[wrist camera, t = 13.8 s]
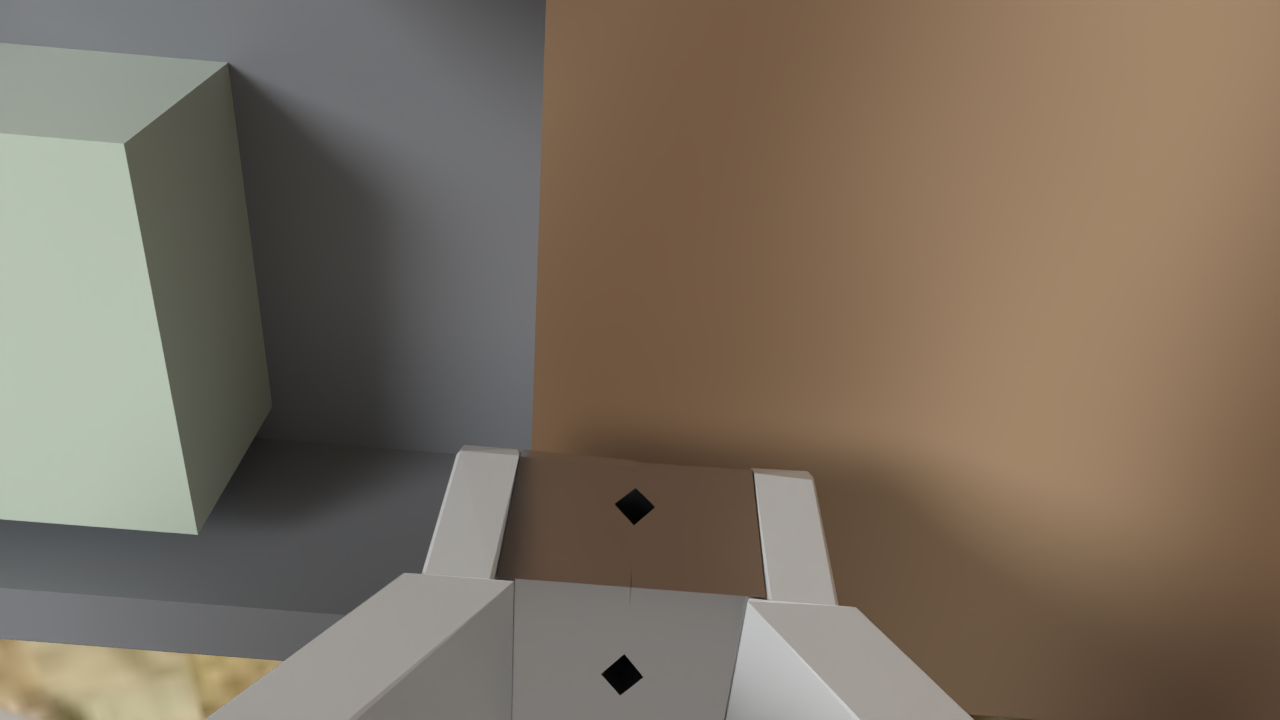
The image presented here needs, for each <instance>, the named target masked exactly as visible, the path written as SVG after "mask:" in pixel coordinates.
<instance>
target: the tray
mask: <svg viewBox="0 0 1280 720" xmlns="http://www.w3.org/2000/svg"><path fill="white" fill-rule="evenodd" d="M545 17H546V0H0V43H8V44H20V45H31V46H43V47H54V48H66V49H77V50H89V51H100V52H112V53H123V54H135V55H146V56H158V57H169V58H181V59H192V60H204V61H215V62H227V63H228V67H229V74H230V82H231V90H232V98H233V105H234V113H235V121H236V129H237V137H238V144H239V152H240V160H241V168H242V175H243V183H244V191H245V199H246V206H247V214H248V222H249V230H250V237H251V245H252V253H253V261H254V268H255V276H256V284H257V292H258V299H259V307H260V315H261V323H262V330H263V338H264V346H265V354H266V361H267V369H268V377H269V385H270V392H271V400H272V408H271V410H270V412H269V413H268V415H267V417H266V419H265V420H264V422H263V424H262V425H261V427H260V429H259V431H258V432H257V434H256V436H255V437H254V439H253V441H252V443H251V444H250V446H249V448H248V449H247V451H246V453H245V455H244V456H243V458H242V460H241V461H240V463H239V465H238V467H237V468H236V470H235V472H234V474H233V475H232V477H231V479H230V480H229V482H228V484H227V486H226V487H225V489H224V491H223V492H222V494H221V496H220V498H219V499H218V501H217V503H216V504H215V506H214V508H213V510H212V511H211V513H210V515H209V517H208V518H207V520H206V522H205V523H204V525H203V527H202V529H201V530H200V532H199V534H198V535H194V534H181V533H168V532H156V531H143V530H130V529H118V528H105V527H92V526H80V525H67V524H54V523H42V522H29V521H16V520H4V519H0V639H10V640H23V641H36V642H49V643H61V644H74V645H87V646H100V647H112V648H125V649H138V650H151V651H164V652H176V653H189V654H202V655H215V656H227V657H240V658H253V659H266V660H278V661H285V660H286V659H287V658H289V657H290V656H291V655H293V654H294V653H295V652H297V651H298V650H300V649H301V648H302V647H304V646H305V645H306V644H308V643H309V642H310V641H312V640H313V639H314V638H316V637H317V636H319V635H320V634H321V633H323V632H324V631H325V630H327V629H328V628H329V627H331V626H332V625H333V624H335V623H336V622H338V621H339V620H340V619H342V618H343V617H344V616H346V615H347V614H348V613H350V612H351V611H352V610H354V609H355V608H357V607H358V606H359V605H361V604H362V603H363V602H365V601H366V600H367V599H369V598H370V597H372V596H373V595H374V594H376V593H377V592H378V591H380V590H381V589H382V588H384V587H385V586H386V585H388V584H389V583H391V582H392V581H393V580H395V579H396V578H397V577H399V576H400V575H401V574H403V573H414V574H422V571H423V568H424V564H425V561H426V557H427V554H428V551H429V547H430V544H431V540H432V537H433V533H434V530H435V527H436V523H437V520H438V516H439V513H440V509H441V506H442V503H443V499H444V496H445V492H446V489H447V486H448V482H449V479H450V475H451V472H452V468H453V465H454V462H455V458H456V455H457V453H458V452H459V451H460V449H461V448H462V447H463V446H464V445H473V446H485V447H497V448H509V449H518V450H520V451H521V452H522V451H523V450H531V447H532V416H533V385H534V355H535V324H536V293H537V263H538V232H539V201H540V171H541V140H542V109H543V79H544V48H545Z"/></svg>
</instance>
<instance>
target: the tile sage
mask: <svg viewBox="0 0 1280 720" xmlns="http://www.w3.org/2000/svg"><path fill="white" fill-rule="evenodd" d="M271 408H272V400H271V392H270V385H269V377H268V369H267V361H266V354H265V346H264V338H263V330H262V323H261V315H260V307H259V299H258V292H257V284H256V276H255V268H254V261H253V253H252V245H251V237H250V230H249V222H248V214H247V206H246V199H245V191H244V183H243V175H242V168H241V160H240V152H239V144H238V137H237V129H236V121H235V113H234V105H233V98H232V90H231V82H230V74H229V67H228V63H227V62H215V61H204V60H192V59H181V58H169V57H158V56H146V55H135V54H123V53H112V52H100V51H89V50H77V49H66V48H54V47H43V46H31V45H20V44H8V43H0V519H4V520H16V521H29V522H42V523H54V524H67V525H80V526H92V527H105V528H118V529H130V530H143V531H156V532H168V533H181V534H194V535H198V534H199V532H200V530H201V529H202V527H203V525H204V523H205V522H206V520H207V518H208V517H209V515H210V513H211V511H212V510H213V508H214V506H215V504H216V503H217V501H218V499H219V498H220V496H221V494H222V492H223V491H224V489H225V487H226V486H227V484H228V482H229V480H230V479H231V477H232V475H233V474H234V472H235V470H236V468H237V467H238V465H239V463H240V461H241V460H242V458H243V456H244V455H245V453H246V451H247V449H248V448H249V446H250V444H251V443H252V441H253V439H254V437H255V436H256V434H257V432H258V431H259V429H260V427H261V425H262V424H263V422H264V420H265V419H266V417H267V415H268V413H269V412H270V410H271Z"/></svg>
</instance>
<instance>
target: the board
mask: <svg viewBox="0 0 1280 720" xmlns="http://www.w3.org/2000/svg"><path fill="white" fill-rule="evenodd" d="M531 450H533V451H543V452H553V453H563V454H573V455H583V456H593V457H603V458H613V459H623V460H633V461H637V462H646V463H660V464H673V465H686V466H700V467H713V468H727V469H740V470H751V468H757V469H777V470H796V471H808V472H809V473H810V474H811V475H812V477H813V478H814V482H815V487H816V492H817V497H818V502H819V507H820V512H821V518H822V523H823V528H824V533H825V538H826V543H827V548H828V554H829V559H830V564H831V569H832V574H833V579H834V584H835V589H836V595H837V600H838V605H839V606H848V607H856V608H858V609H859V610H860V611H861V612H862V613H863V614H864V615H865V616H866V617H867V618H868V619H869V620H870V621H871V622H872V623H874V624H875V625H876V626H877V627H878V628H879V629H880V630H881V631H882V632H883V633H884V634H885V635H886V636H887V637H888V638H889V639H890V640H891V641H892V642H893V643H894V644H895V645H897V646H898V647H899V648H900V649H901V650H902V651H903V652H904V653H905V654H906V655H907V656H908V657H909V658H910V659H911V660H912V661H913V662H914V663H915V664H916V665H917V666H919V667H920V668H921V669H922V670H923V671H924V672H925V673H926V674H927V675H928V676H929V677H930V678H931V679H932V680H933V681H934V682H935V683H936V684H937V685H938V686H939V687H940V688H942V689H943V690H944V691H945V692H946V693H947V694H948V695H949V696H950V697H951V698H952V699H953V700H954V701H955V702H956V703H957V704H958V705H959V706H960V707H961V708H962V709H964V710H965V711H966V712H967V713H968V714H969V715H981V716H993V717H1006V718H1019V719H1032V720H1280V0H546V17H545V48H544V79H543V109H542V140H541V171H540V201H539V232H538V263H537V293H536V324H535V355H534V385H533V416H532V447H531Z"/></svg>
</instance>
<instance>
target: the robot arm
mask: <svg viewBox="0 0 1280 720" xmlns="http://www.w3.org/2000/svg"><path fill="white" fill-rule="evenodd" d="M204 720H974V719H973V718H972V717H971V716H970V715H969V714H968V713H967V712H966V711H965V710H964V709H962V708H961V707H960V706H959V705H958V704H957V703H956V702H955V701H954V700H953V699H952V698H951V697H950V696H949V695H948V694H947V693H946V692H945V691H944V690H943V689H942V688H940V687H939V686H938V685H937V684H936V683H935V682H934V681H933V680H932V679H931V678H930V677H929V676H928V675H927V674H926V673H925V672H924V671H923V670H922V669H921V668H920V667H919V666H917V665H916V664H915V663H914V662H913V661H912V660H911V659H910V658H909V657H908V656H907V655H906V654H905V653H904V652H903V651H902V650H901V649H900V648H899V647H898V646H897V645H895V644H894V643H893V642H892V641H891V640H890V639H889V638H888V637H887V636H886V635H885V634H884V633H883V632H882V631H881V630H880V629H879V628H878V627H877V626H876V625H875V624H874V623H872V622H871V621H870V620H869V619H868V618H867V617H866V616H865V615H864V614H863V613H862V612H861V611H860V610H859V609H858V608H856V607H848V606H839V605H838V600H837V595H836V589H835V584H834V579H833V574H832V569H831V564H830V559H829V554H828V548H827V543H826V538H825V533H824V528H823V523H822V518H821V512H820V507H819V502H818V497H817V492H816V487H815V482H814V478H813V477H812V475H811V474H810V473H809V472H808V471H796V470H777V469H757V468H751V470H740V469H727V468H713V467H700V466H686V465H673V464H660V463H646V462H637V461H633V460H623V459H613V458H603V457H593V456H583V455H573V454H563V453H553V452H543V451H533V450H523V451H522V452H521V451H520V450H518V449H509V448H497V447H485V446H473V445H464V446H463V447H462V448H461V449H460V451H459V452H458V453H457V455H456V458H455V462H454V465H453V468H452V472H451V475H450V479H449V482H448V486H447V489H446V492H445V496H444V499H443V503H442V506H441V509H440V513H439V516H438V520H437V523H436V527H435V530H434V533H433V537H432V540H431V544H430V547H429V551H428V554H427V557H426V561H425V564H424V568H423V571H422V574H414V573H403V574H401V575H400V576H399V577H397V578H396V579H395V580H393V581H392V582H391V583H389V584H388V585H386V586H385V587H384V588H382V589H381V590H380V591H378V592H377V593H376V594H374V595H373V596H372V597H370V598H369V599H367V600H366V601H365V602H363V603H362V604H361V605H359V606H358V607H357V608H355V609H354V610H352V611H351V612H350V613H348V614H347V615H346V616H344V617H343V618H342V619H340V620H339V621H338V622H336V623H335V624H333V625H332V626H331V627H329V628H328V629H327V630H325V631H324V632H323V633H321V634H320V635H319V636H317V637H316V638H314V639H313V640H312V641H310V642H309V643H308V644H306V645H305V646H304V647H302V648H301V649H300V650H298V651H297V652H295V653H294V654H293V655H291V656H290V657H289V658H287V659H286V660H285V661H283V662H282V663H280V664H279V665H278V666H276V667H275V668H274V669H272V670H271V671H270V672H268V673H267V674H266V675H264V676H263V677H261V678H260V679H259V680H257V681H256V682H255V683H253V684H252V685H251V686H249V687H248V688H247V689H245V690H244V691H242V692H241V693H240V694H238V695H237V696H236V697H234V698H233V699H232V700H230V701H229V702H228V703H226V704H225V705H223V706H222V707H221V708H219V709H218V710H217V711H215V712H214V713H213V714H211V715H210V716H208V717H207V718H206V719H204Z"/></svg>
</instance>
